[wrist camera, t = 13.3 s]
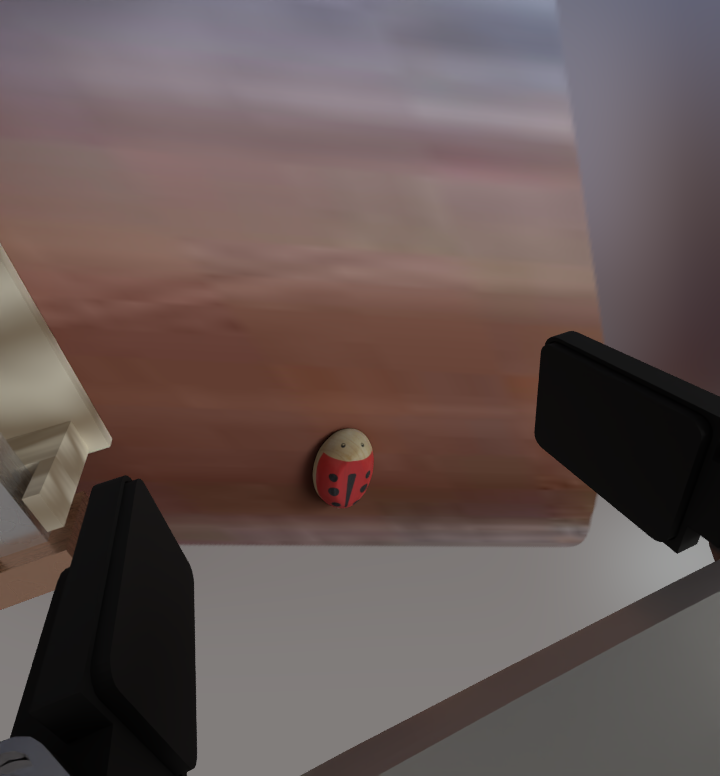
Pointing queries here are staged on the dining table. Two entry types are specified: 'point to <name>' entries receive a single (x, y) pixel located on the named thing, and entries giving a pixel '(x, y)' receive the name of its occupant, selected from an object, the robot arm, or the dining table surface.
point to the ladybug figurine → (343, 468)
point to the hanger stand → (42, 404)
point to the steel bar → (30, 536)
